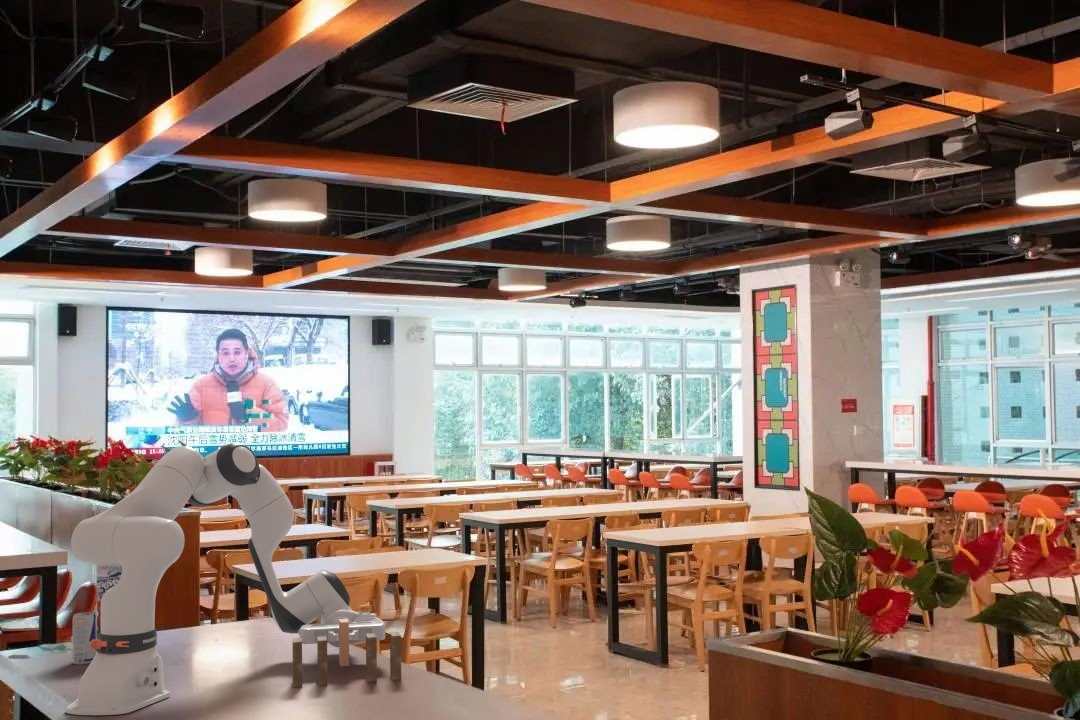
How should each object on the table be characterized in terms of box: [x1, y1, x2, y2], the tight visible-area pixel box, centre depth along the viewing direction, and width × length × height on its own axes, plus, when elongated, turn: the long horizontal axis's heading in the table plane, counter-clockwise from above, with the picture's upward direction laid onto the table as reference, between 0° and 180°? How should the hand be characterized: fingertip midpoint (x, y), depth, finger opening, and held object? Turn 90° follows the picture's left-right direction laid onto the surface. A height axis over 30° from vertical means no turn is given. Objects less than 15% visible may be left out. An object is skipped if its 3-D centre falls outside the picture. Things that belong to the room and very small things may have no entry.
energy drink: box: [72, 611, 97, 666], centre depth 279 cm, size 5×5×12 cm
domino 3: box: [338, 619, 350, 667], centre depth 262 cm, size 2×5×10 cm, turn 14°
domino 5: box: [389, 631, 402, 682], centre depth 257 cm, size 2×5×10 cm, turn 14°
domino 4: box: [365, 633, 378, 683], centre depth 256 cm, size 2×5×10 cm, turn 14°
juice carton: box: [96, 566, 122, 640], centre depth 291 cm, size 9×10×27 cm
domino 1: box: [291, 637, 303, 689], centre depth 252 cm, size 2×5×10 cm, turn 14°
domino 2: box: [316, 636, 328, 687], centre depth 253 cm, size 2×5×10 cm, turn 13°
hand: (344, 638), depth 261 cm, fingers closed on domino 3, 2 cm apart
